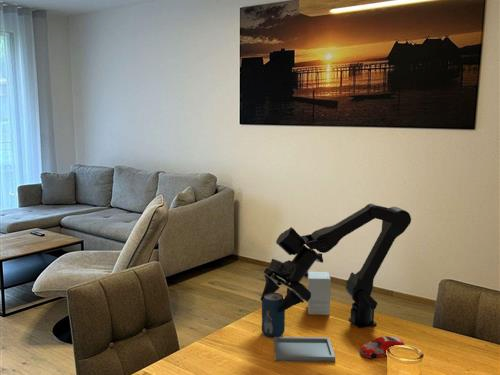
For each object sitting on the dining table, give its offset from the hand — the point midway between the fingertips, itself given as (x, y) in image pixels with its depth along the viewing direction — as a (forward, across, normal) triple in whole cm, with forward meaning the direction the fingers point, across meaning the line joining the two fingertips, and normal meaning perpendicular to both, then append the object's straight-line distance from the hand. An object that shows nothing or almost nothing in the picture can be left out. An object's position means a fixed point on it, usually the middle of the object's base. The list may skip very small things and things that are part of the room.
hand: (269, 306), depth 137 cm
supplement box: (-10, -7, +24) cm, 27 cm away
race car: (-9, +24, +22) cm, 34 cm away
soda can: (+6, 0, +8) cm, 9 cm away
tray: (+4, +13, +9) cm, 16 cm away
